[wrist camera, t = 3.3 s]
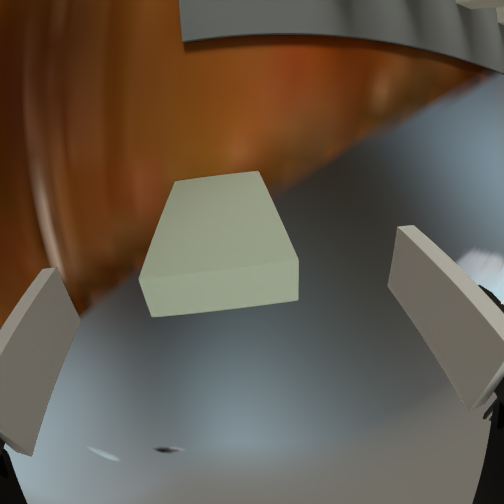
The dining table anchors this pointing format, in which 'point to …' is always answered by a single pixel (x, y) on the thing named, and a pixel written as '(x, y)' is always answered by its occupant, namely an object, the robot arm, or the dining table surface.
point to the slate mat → (356, 24)
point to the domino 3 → (500, 15)
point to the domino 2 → (481, 3)
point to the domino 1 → (219, 249)
